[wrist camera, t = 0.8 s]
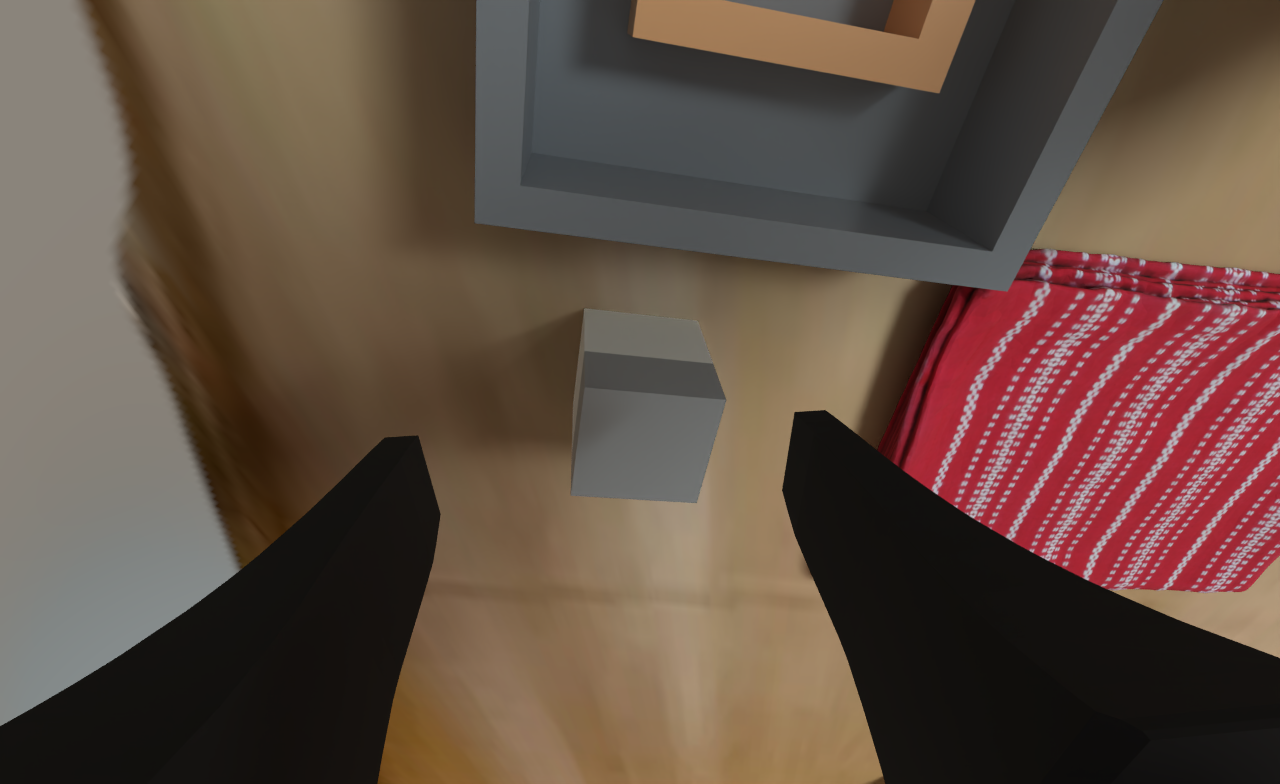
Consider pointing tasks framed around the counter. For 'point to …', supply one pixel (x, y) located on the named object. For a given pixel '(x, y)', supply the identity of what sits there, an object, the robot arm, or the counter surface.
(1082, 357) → the dish towel
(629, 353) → the grey block
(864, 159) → the box
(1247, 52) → the counter surface
